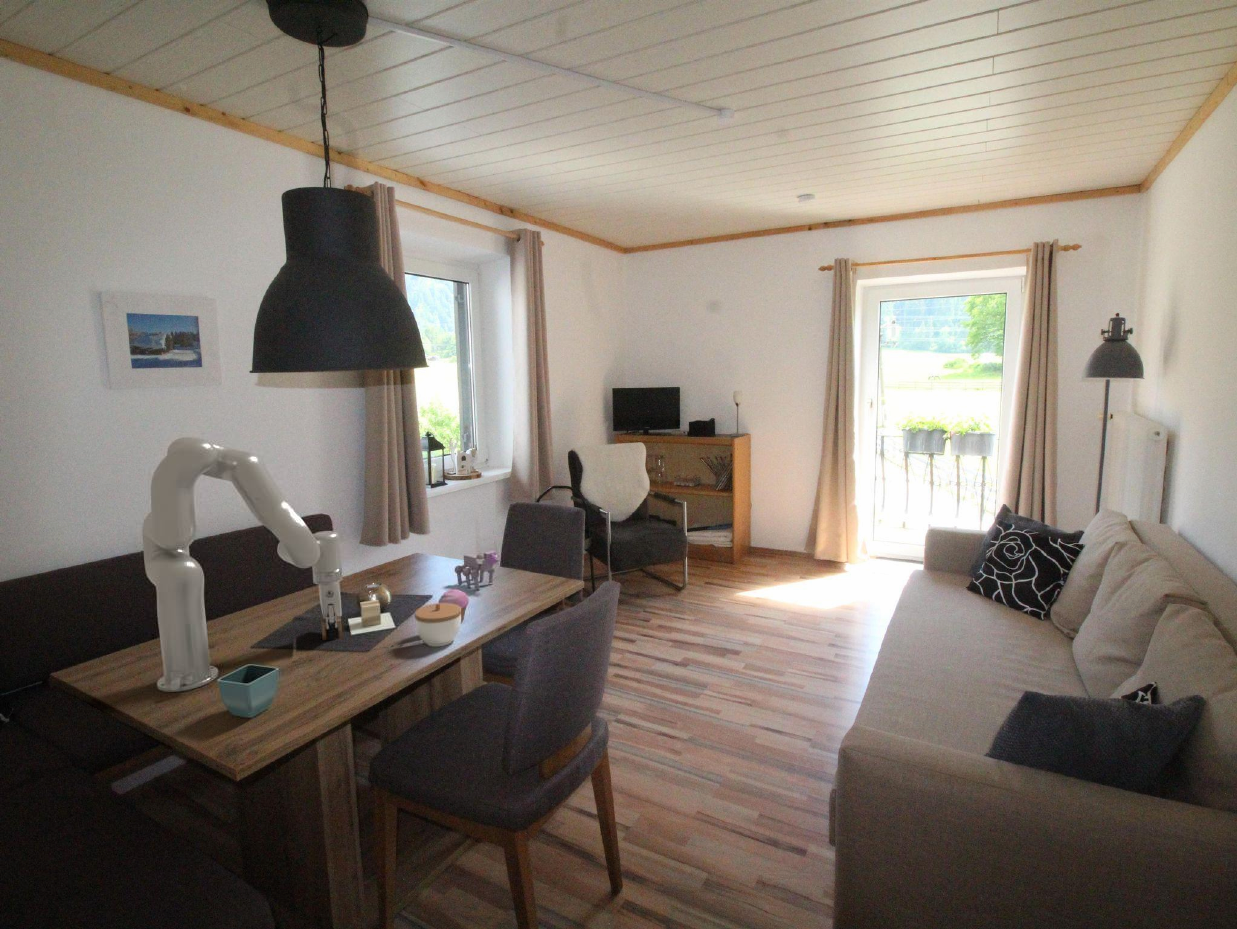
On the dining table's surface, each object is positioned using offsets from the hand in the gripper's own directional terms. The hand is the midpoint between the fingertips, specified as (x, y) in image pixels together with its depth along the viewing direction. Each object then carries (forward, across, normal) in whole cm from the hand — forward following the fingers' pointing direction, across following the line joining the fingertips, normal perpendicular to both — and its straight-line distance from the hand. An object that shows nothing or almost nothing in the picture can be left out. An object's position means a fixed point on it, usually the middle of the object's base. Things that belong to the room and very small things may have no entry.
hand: (332, 637), depth 186 cm
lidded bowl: (+1, -16, -27) cm, 31 cm away
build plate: (+1, +5, -11) cm, 12 cm away
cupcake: (+1, -3, -34) cm, 34 cm away
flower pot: (+1, -37, +18) cm, 41 cm away
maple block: (0, +5, -11) cm, 12 cm away
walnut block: (+1, 0, 0) cm, 1 cm away
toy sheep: (+1, +28, -50) cm, 57 cm away
